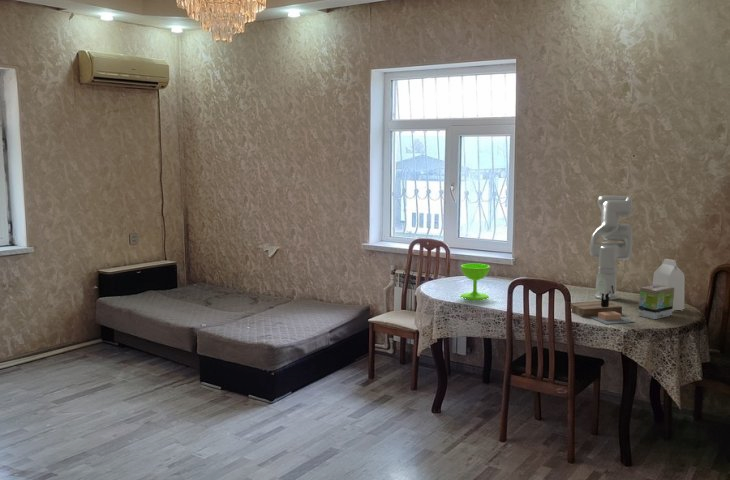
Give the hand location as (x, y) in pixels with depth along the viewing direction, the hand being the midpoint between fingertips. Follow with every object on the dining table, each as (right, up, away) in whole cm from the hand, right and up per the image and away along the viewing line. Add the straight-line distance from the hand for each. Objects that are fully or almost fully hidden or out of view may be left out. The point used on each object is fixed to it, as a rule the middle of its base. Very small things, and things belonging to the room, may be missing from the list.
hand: (604, 306), depth 334 cm
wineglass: (-58, +1, +43) cm, 72 cm away
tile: (+1, -4, -4) cm, 6 cm away
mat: (+2, -6, -6) cm, 8 cm away
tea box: (+26, -5, +2) cm, 27 cm away
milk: (+39, -3, +18) cm, 43 cm away
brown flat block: (-2, -4, +9) cm, 10 cm away
